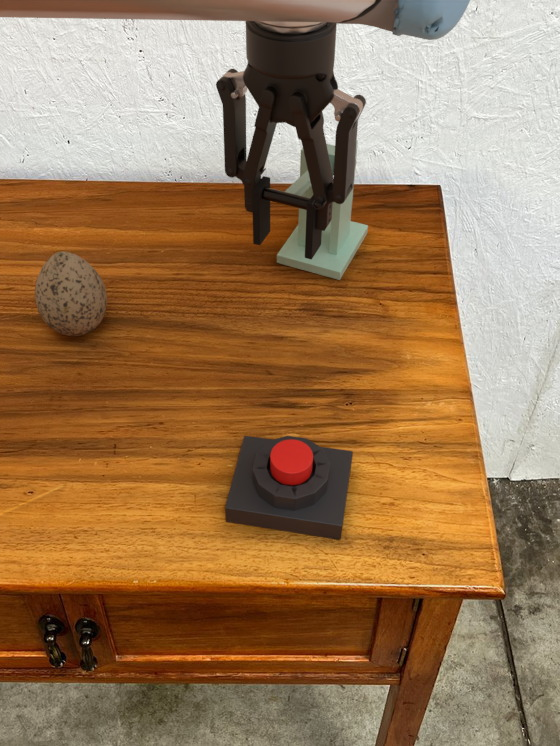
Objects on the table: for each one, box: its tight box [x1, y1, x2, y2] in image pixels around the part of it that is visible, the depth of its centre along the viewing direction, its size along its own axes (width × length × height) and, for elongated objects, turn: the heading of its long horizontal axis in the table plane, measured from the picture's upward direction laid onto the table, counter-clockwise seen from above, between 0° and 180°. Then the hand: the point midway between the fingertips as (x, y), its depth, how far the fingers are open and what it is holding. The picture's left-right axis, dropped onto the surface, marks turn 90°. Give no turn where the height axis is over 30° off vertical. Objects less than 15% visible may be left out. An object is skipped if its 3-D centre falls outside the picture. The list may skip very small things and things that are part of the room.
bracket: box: [276, 139, 369, 281], centre depth 89 cm, size 10×8×14 cm
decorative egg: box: [34, 250, 108, 337], centre depth 80 cm, size 7×7×10 cm
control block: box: [224, 435, 354, 541], centre depth 68 cm, size 10×8×4 cm
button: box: [270, 439, 313, 485], centre depth 66 cm, size 4×4×2 cm
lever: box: [262, 143, 335, 210], centre depth 81 cm, size 14×5×2 cm, turn 157°
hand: (287, 243), depth 80 cm, fingers closed on lever, 5 cm apart
